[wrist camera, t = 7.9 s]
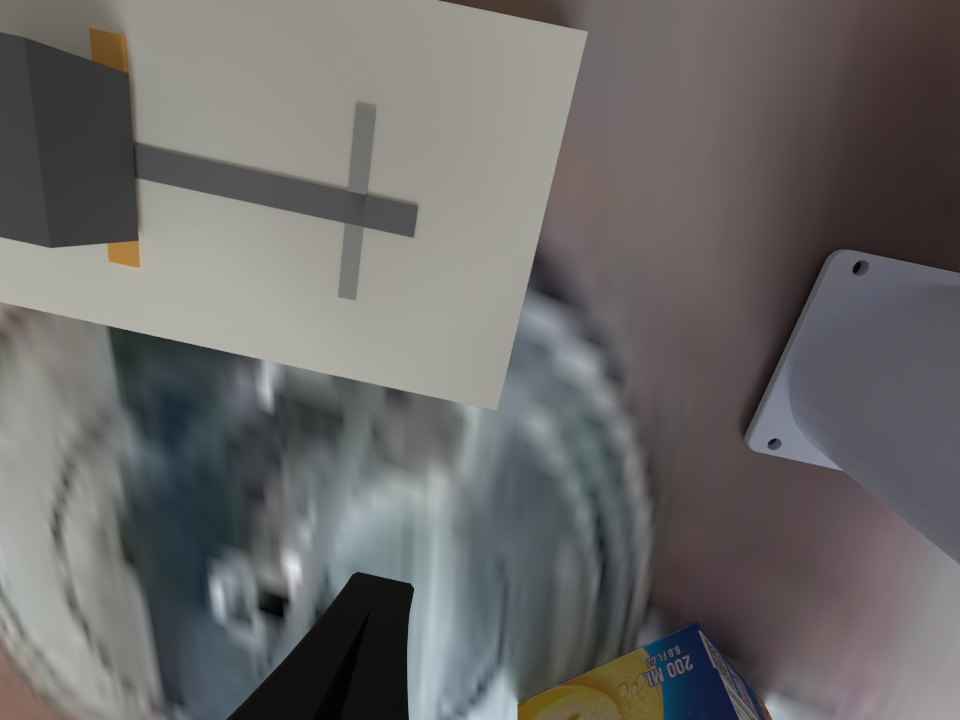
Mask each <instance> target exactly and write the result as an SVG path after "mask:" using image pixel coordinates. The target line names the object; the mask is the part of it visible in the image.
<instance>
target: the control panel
mask: <svg viewBox="0 0 960 720" xmlns="http://www.w3.org/2000/svg"><path fill="white" fill-rule="evenodd" d="M0 32H2V33H7V34H11V35H16V36H21V37H25V38H28V39H31V40H34V41H37V42H39V43H42V44H45V45H48V46H51V47H54V48H57V49H60V50H63V51H65V52H68V53H71V54H74V55H77V56H80V57H83V58H86V59H88V60H91V61H94V62H97V63H100V64H103V65H106V66H109V67H112V68H114V69H117V70H120V71H123V72H126V73H129V86H130V103H131V119H132V136H133V153H134V170H135V186H136V203H137V220H138V236H139V241H129V242H118V243H106V244H94V245H82V246H71V247H59V248H48V247H43V246H38V245H34V244H29V243H25V242H20V241H16V240H11V239H6V238H2V237H0V302H3V303H7V304H12V305H17V306H21V307H26V308H30V309H35V310H39V311H44V312H48V313H53V314H58V315H62V316H67V317H71V318H76V319H80V320H85V321H89V322H94V323H99V324H103V325H108V326H112V327H117V328H121V329H126V330H130V331H135V332H140V333H144V334H149V335H153V336H158V337H162V338H167V339H171V340H176V341H181V342H185V343H190V344H194V345H199V346H203V347H208V348H212V349H217V350H222V351H226V352H231V353H235V354H240V355H244V356H249V357H253V358H258V359H263V360H267V361H272V362H276V363H281V364H285V365H290V366H294V367H299V368H304V369H308V370H313V371H317V372H322V373H326V374H331V375H335V376H340V377H345V378H349V379H354V380H358V381H363V382H367V383H372V384H376V385H381V386H386V387H390V388H395V389H399V390H404V391H408V392H413V393H417V394H422V395H427V396H431V397H436V398H440V399H445V400H449V401H454V402H458V403H463V404H468V405H472V406H477V407H481V408H486V409H490V410H495V411H497V410H498V406H499V402H500V398H501V394H502V390H503V385H504V381H505V377H506V373H507V369H508V364H509V360H510V356H511V352H512V348H513V343H514V339H515V335H516V331H517V327H518V323H519V318H520V314H521V310H522V306H523V302H524V297H525V293H526V289H527V285H528V281H529V277H530V272H531V268H532V264H533V260H534V256H535V251H536V247H537V243H538V239H539V235H540V230H541V226H542V222H543V218H544V214H545V210H546V205H547V201H548V197H549V193H550V189H551V184H552V180H553V176H554V172H555V168H556V163H557V159H558V155H559V151H560V147H561V143H562V138H563V134H564V130H565V126H566V122H567V117H568V113H569V109H570V105H571V101H572V97H573V92H574V88H575V84H576V80H577V76H578V71H579V67H580V63H581V59H582V55H583V50H584V46H585V42H586V38H587V34H588V32H586V31H582V30H577V29H572V28H567V27H563V26H558V25H553V24H548V23H544V22H539V21H534V20H529V19H524V18H520V17H515V16H510V15H505V14H501V13H496V12H491V11H486V10H482V9H477V8H472V7H467V6H463V5H458V4H453V3H448V2H444V1H439V0H0Z"/></svg>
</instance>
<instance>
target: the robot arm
mask: <svg viewBox="0 0 960 720" xmlns="http://www.w3.org/2000/svg"><path fill="white" fill-rule="evenodd" d="M859 261H860V263H861V267H860V269H859V270H858V272H856V273H853V271H852V270H853V266H854V265H855V264H856V263H857V262H859ZM774 438H776V441H775V442H774V443H773V444H771V445H768V442H769V441H770V440H772V439H774ZM744 440H745V443H746V444H747V445H748V446H749V447H750V448H751V449H752V450H753V451H756V452H760V453H764V454H769V455H773V456H778V457H782V458H787V459H791V460H796V461H801V462H805V463H810V464H814V465H819V466H823V467H828V468H833V469H837V470H842V471H844V472H846V473H847V474H848V475H849V476H851V477H852V478H853V479H854V480H856V481H857V482H858V483H859V484H861V485H862V486H863V487H864V488H865V489H867V490H868V491H869V492H870V493H872V494H873V495H874V496H875V497H877V498H878V499H879V500H880V501H882V502H883V503H884V504H885V505H887V506H888V507H889V508H890V509H892V510H893V511H894V512H895V513H896V514H898V515H899V516H900V517H901V518H903V519H904V520H905V521H906V522H908V523H909V524H910V525H911V526H913V527H914V528H915V529H916V530H918V531H919V532H920V533H921V534H923V535H924V536H925V537H926V538H928V539H929V540H930V541H931V542H932V543H934V544H935V545H936V546H937V547H939V548H940V549H941V550H942V551H944V552H945V553H946V554H947V555H949V556H950V557H951V558H952V559H954V560H955V561H956V562H957V563H959V564H960V273H957V272H952V271H947V270H943V269H938V268H933V267H929V266H924V265H919V264H915V263H910V262H905V261H900V260H896V259H891V258H886V257H882V256H877V255H872V254H868V253H863V252H858V251H854V250H847V249H840V250H837V251H834V252H833V253H832V254H830V255H829V256H828V258H827V259H826V261H825V263H824V265H823V267H822V269H821V271H820V274H819V276H818V278H817V280H816V282H815V284H814V287H813V289H812V291H811V293H810V295H809V297H808V300H807V302H806V304H805V306H804V308H803V310H802V313H801V315H800V317H799V319H798V321H797V323H796V326H795V328H794V330H793V332H792V334H791V336H790V339H789V341H788V343H787V345H786V347H785V349H784V352H783V354H782V356H781V358H780V360H779V363H778V365H777V367H776V369H775V371H774V373H773V376H772V378H771V380H770V382H769V384H768V386H767V389H766V391H765V393H764V395H763V397H762V399H761V402H760V404H759V406H758V408H757V410H756V412H755V415H754V417H753V419H752V421H751V423H750V425H749V428H748V430H747V432H746V434H745V438H744ZM413 593H414V588H413V587H412V585H411V584H410V583H405V582H401V581H396V580H392V579H387V578H383V577H378V576H374V575H369V574H365V573H360V572H357V573H355V574H353V575H352V576H351V578H350V579H349V581H348V582H347V584H346V585H345V586H344V588H343V589H342V591H341V592H340V593H339V595H338V596H337V597H336V599H335V600H334V601H333V603H332V604H331V605H330V606H329V608H328V609H327V610H326V611H325V613H324V614H323V615H322V616H321V618H320V619H319V620H318V621H317V623H316V624H315V625H314V626H313V627H312V629H311V630H310V631H309V632H308V633H307V634H306V635H305V637H304V638H303V639H302V640H301V641H300V642H299V644H298V645H297V646H296V647H295V648H294V649H293V650H292V652H291V653H290V654H289V655H288V656H287V657H286V658H285V660H284V661H283V662H282V663H281V664H280V665H279V666H278V667H277V668H276V669H275V670H274V671H273V672H272V673H271V674H270V676H269V677H268V678H267V679H266V680H265V681H264V682H263V683H262V684H261V685H260V686H259V687H258V688H257V689H256V690H255V691H254V692H253V693H252V694H251V695H250V697H249V698H248V699H247V700H246V701H245V702H244V703H243V704H242V705H241V706H240V707H239V708H238V709H237V710H236V711H235V712H234V713H233V714H232V715H231V716H230V717H229V718H228V719H226V720H409V714H408V690H407V641H408V624H409V614H410V608H411V603H412V598H413Z"/></svg>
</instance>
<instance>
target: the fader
mask: <svg viewBox="0 0 960 720" xmlns="http://www.w3.org/2000/svg"><path fill="white" fill-rule="evenodd" d="M0 237H2V238H6V239H11V240H16V241H20V242H25V243H29V244H34V245H38V246H43V247H48V248H59V247H71V246H82V245H94V244H106V243H118V242H129V241H139V236H138V220H137V203H136V186H135V170H134V153H133V136H132V119H131V103H130V86H129V73H126V72H123V71H120V70H117V69H114V68H112V67H109V66H106V65H103V64H100V63H97V62H94V61H91V60H88V59H86V58H83V57H80V56H77V55H74V54H71V53H68V52H65V51H63V50H60V49H57V48H54V47H51V46H48V45H45V44H42V43H39V42H37V41H34V40H31V39H28V38H25V37H21V36H16V35H11V34H7V33H2V32H0Z"/></svg>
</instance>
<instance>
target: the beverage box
mask: <svg viewBox="0 0 960 720" xmlns="http://www.w3.org/2000/svg"><path fill="white" fill-rule="evenodd" d="M518 720H772V718H771V716H770V714H769V712H768V710H767V708H766V706H765V705H764V704H763V703H762V701H761V700H760V699H759V698H758V697H757V695H756V694H755V693H754V692H753V691H752V689H751V688H750V687H749V686H748V684H747V683H746V682H745V681H744V680H743V678H742V677H741V676H740V675H739V674H738V672H737V671H736V670H735V669H734V667H733V666H732V665H731V664H730V663H729V661H728V660H727V659H726V658H725V657H724V655H723V654H722V653H721V652H720V650H719V649H718V648H717V647H716V646H715V644H714V643H713V642H712V641H711V640H710V638H709V637H708V636H707V635H706V633H705V632H704V631H703V630H702V629H701V627H700V626H699V625H698V624H697V623H696V622H695V623H693V624H691V625H689V626H687V627H684V628H682V629H680V630H678V631H676V632H674V633H671V634H669V635H667V636H665V637H663V638H660V639H658V640H656V641H654V642H652V643H649V644H647V645H645V646H643V647H641V648H638V649H636V650H634V651H632V652H630V653H627V654H625V655H623V656H621V657H619V658H616V659H614V660H612V661H610V662H608V663H605V664H603V665H601V666H599V667H597V668H594V669H592V670H590V671H588V672H586V673H583V674H581V675H579V676H577V677H575V678H572V679H570V680H568V681H566V682H564V683H561V684H559V685H557V686H555V687H553V688H551V689H548V690H546V691H544V692H542V693H540V694H537V695H535V696H533V697H531V698H529V699H526V700H524V701H522V702H520V703H518Z"/></svg>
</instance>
